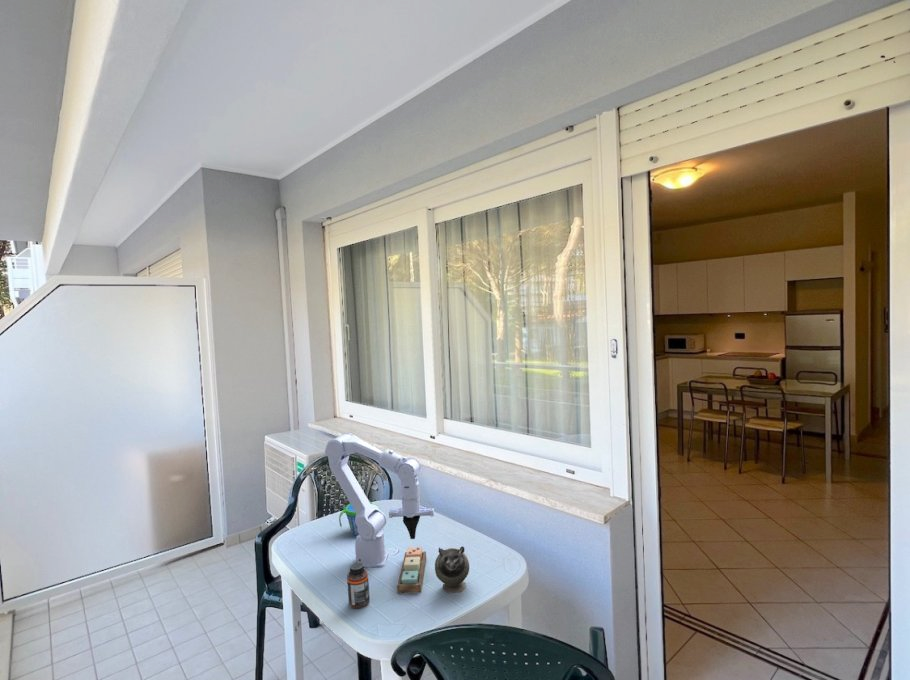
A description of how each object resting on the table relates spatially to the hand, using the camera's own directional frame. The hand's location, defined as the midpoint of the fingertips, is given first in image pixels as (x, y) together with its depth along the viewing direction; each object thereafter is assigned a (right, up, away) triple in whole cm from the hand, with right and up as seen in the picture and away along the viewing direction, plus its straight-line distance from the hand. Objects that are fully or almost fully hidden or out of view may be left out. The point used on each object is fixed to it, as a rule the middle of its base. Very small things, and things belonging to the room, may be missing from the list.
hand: (412, 537), depth 155 cm
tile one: (0, -8, -5) cm, 10 cm away
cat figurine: (+13, -10, -13) cm, 21 cm away
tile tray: (0, -10, -5) cm, 11 cm away
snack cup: (-22, -9, +27) cm, 36 cm away
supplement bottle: (-14, -12, -18) cm, 26 cm away
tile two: (0, -10, -11) cm, 15 cm away
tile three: (0, -8, +1) cm, 8 cm away
